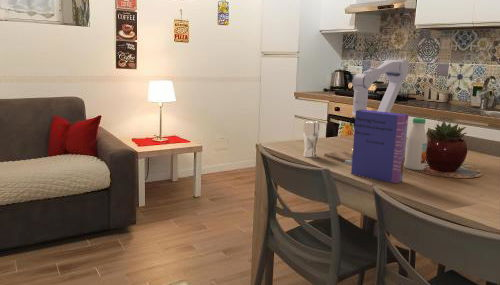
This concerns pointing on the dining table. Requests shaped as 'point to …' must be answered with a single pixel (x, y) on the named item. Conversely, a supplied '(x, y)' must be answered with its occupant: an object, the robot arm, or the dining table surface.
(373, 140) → the purple book
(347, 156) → the door and jamb
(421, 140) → the milk bottle
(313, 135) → the beer glass
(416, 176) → the dining table surface
